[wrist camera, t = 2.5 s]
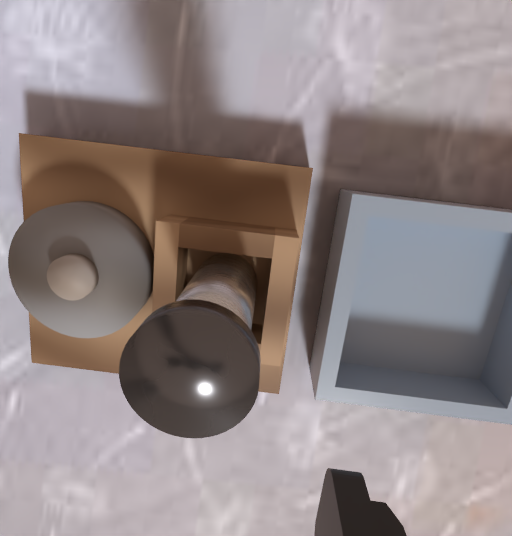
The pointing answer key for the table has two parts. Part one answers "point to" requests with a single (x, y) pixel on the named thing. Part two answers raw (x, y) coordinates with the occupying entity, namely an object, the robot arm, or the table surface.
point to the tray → (417, 308)
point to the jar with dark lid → (197, 354)
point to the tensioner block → (147, 243)
